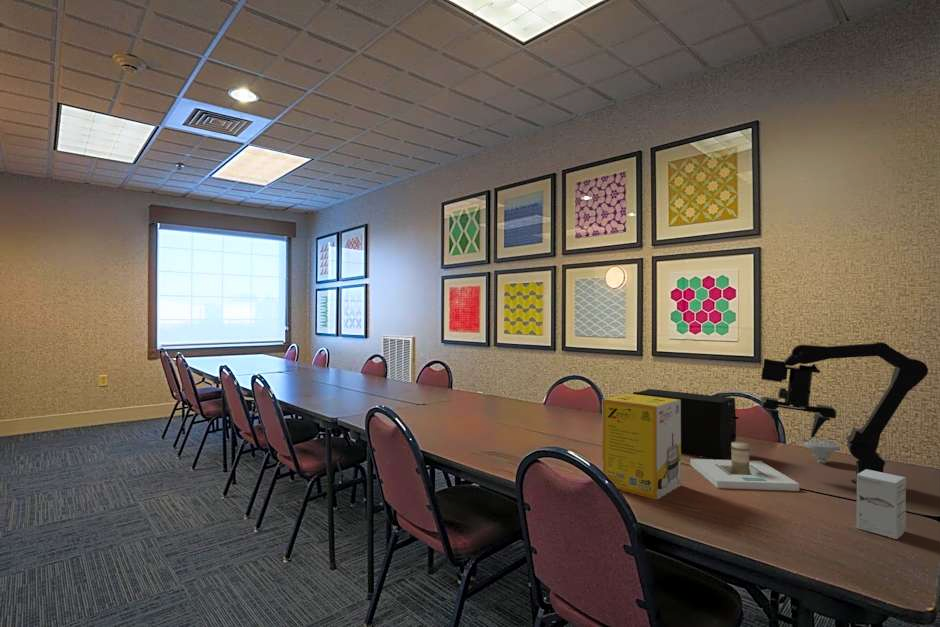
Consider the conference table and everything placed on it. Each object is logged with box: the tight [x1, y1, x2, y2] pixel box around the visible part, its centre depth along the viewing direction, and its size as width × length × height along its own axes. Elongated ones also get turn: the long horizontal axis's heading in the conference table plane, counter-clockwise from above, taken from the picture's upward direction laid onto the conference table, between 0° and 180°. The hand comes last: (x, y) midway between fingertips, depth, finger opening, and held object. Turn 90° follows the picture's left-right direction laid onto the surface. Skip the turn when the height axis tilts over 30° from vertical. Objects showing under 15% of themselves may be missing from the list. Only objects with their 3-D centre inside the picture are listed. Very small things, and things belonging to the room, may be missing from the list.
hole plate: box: [689, 458, 800, 492], centre depth 147 cm, size 22×22×2 cm
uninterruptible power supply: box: [632, 388, 739, 460], centre depth 179 cm, size 16×34×20 cm, turn 44°
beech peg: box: [730, 441, 750, 475], centre depth 147 cm, size 5×5×10 cm
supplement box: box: [856, 469, 907, 540], centre depth 109 cm, size 7×7×13 cm
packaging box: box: [601, 393, 682, 501], centre depth 139 cm, size 16×16×25 cm
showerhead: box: [802, 438, 840, 464], centre depth 162 cm, size 9×7×10 cm
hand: (794, 434), depth 149 cm, fingers open, 9 cm apart
